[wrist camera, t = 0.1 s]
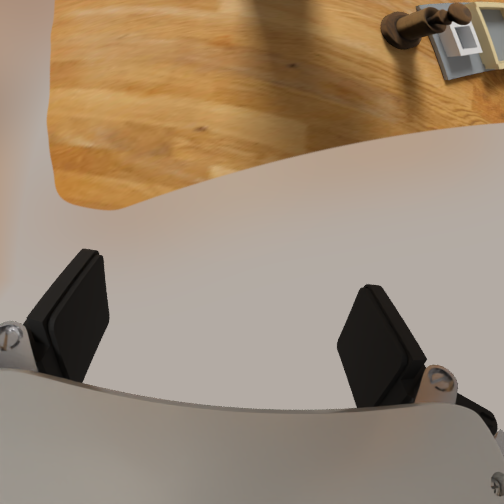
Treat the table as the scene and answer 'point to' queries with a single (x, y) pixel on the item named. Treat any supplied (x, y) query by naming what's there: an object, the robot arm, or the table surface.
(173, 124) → the table surface
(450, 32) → the socket board
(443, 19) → the brown pepper mill
